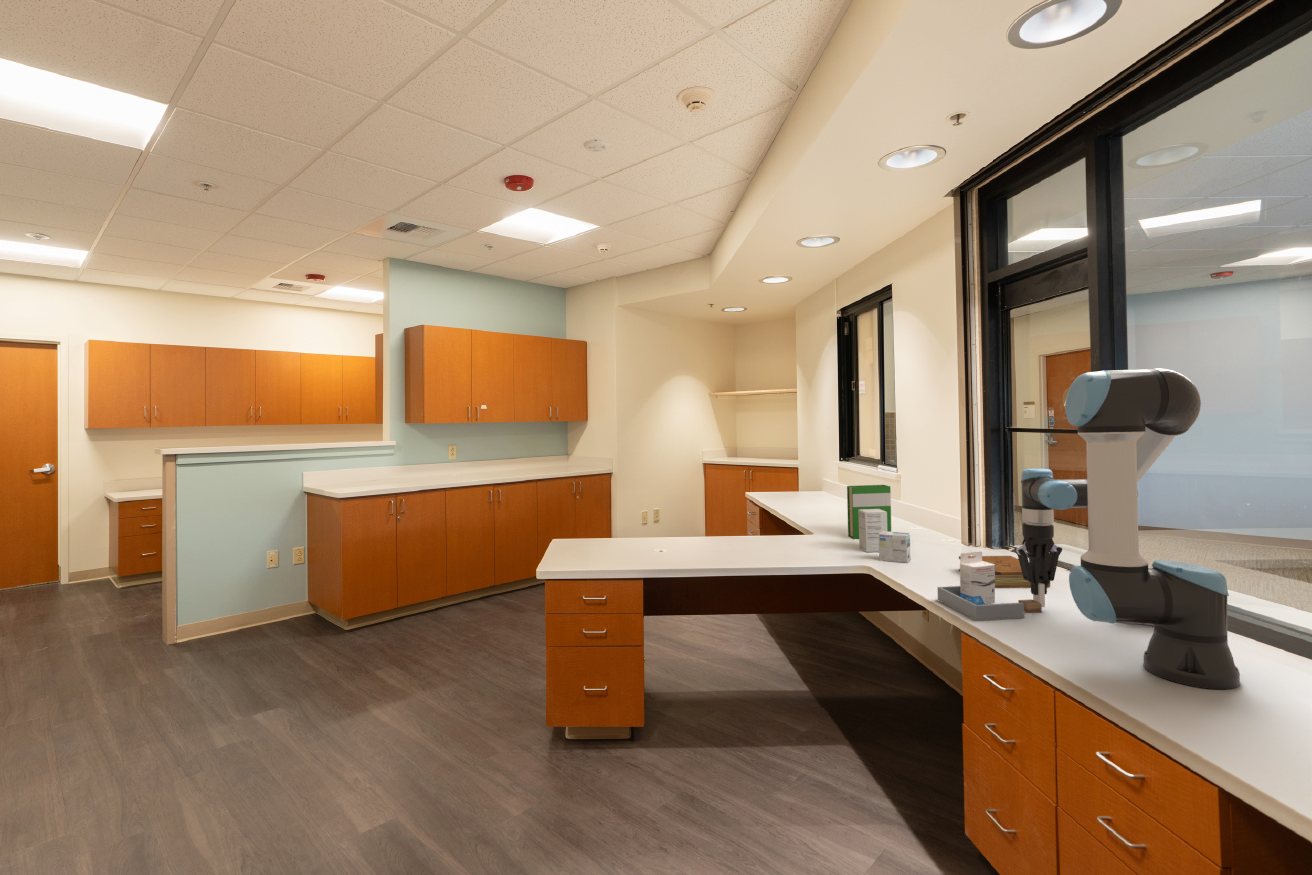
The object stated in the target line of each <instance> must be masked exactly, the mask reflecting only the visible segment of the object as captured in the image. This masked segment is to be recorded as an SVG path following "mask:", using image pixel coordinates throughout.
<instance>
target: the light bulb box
mask: <svg viewBox="0 0 1312 875" xmlns="http://www.w3.org/2000/svg"><path fill="white" fill-rule="evenodd" d="M878 555H879V556H878V557H879V558H878V560H879V561H881V560H882V561H883V562H885V561H886V562H894V563H904V564H905V563H906V564H908V563H909V561H911V559H912V558H911V534H910V532H903V531H902V532H900V531H891V532H887V531H882V532H880V533H879V552H878ZM882 561H881V562H882Z"/></svg>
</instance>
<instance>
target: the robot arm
mask: <svg viewBox="0 0 1312 875" xmlns="http://www.w3.org/2000/svg"><path fill="white" fill-rule="evenodd" d="M1201 405H1202V401H1201V395H1200V393H1199V390H1198V388H1197V387H1196V385H1195V384H1194V383H1193V382H1192V381H1191V380H1190V378H1188V377H1187V376H1185V375H1183V374H1182V373H1180V372H1177V371H1174V370H1171V369H1166V368H1149V369H1148V368H1147V369H1123V370H1122V369H1120V370H1119V369H1117V370H1111V369H1110V370H1099V371H1090V372H1089V371H1088V372H1085V373H1082V374H1080V375H1078V376H1077V377H1076V378H1075V379H1074V380H1073V382H1072V383H1071V385H1070V386H1069V388H1068V391H1067V395H1066V397H1065V406H1064V407H1065V408H1064V409H1065V410H1064V412H1065V416H1066V420H1067V422H1068V423H1069V424H1070V425H1071V426H1073V427H1077V435H1078V436H1080V437H1081V438H1082V439H1083V440H1084V441H1085V442H1086V477H1087V478H1082V479H1079V478H1076V479H1075V478H1073V479H1072V478H1071V479H1069V478H1068V479H1066V478H1065V479H1063V478H1061V479H1055V477H1054V474H1053V473H1054V472H1053V471H1052V470H1051V469H1049V468H1025V469H1023V470H1022V471H1021V481H1020V483H1021V512H1022V513H1021V516H1022V517H1021V519H1022V520H1021V521H1022V522H1023V523H1022V524H1021V525H1022V526H1021V527H1022V528H1021V529H1022V532H1021V533H1022V537H1023V540H1022V542H1021V543H1022V544H1021V545H1020V546H1019V547H1014V549H1013V550H1014V552H1015V554H1016V555H1017V559H1019V563H1020V567H1021V571H1022V575H1023V578H1024V580H1026V581H1029V582H1030V583H1031V588H1030V593H1031V595H1032V600H1034V601H1037V602H1039V603H1041V604H1042V608H1045V607H1046V595H1047V594H1048V588H1047V584H1050V585H1051V582H1054V581H1055V576H1056V573H1057V567H1058V562H1059V557H1060V555H1061V553H1062V552H1063V547H1060V546H1058V545H1056V544H1055V541H1054V540H1053V538H1054V537H1055V527H1054V522H1055V517H1054V513H1055V512H1054V511H1055V510H1058V511H1059V510H1061V511H1062V510H1067V509H1072V508H1075V509H1081V508H1082V509H1083V508H1084V509H1085V508H1087V524H1088V525H1087V529H1088V530H1087V531H1088V550H1087V551H1086V552H1085V553H1083V554H1082V555H1081V556H1080V565H1076V566H1073V567H1071V569H1070V570H1069V574H1068V583H1069V590H1070V592H1071V596H1072V599H1073V602H1074V603H1075V605H1076V607H1077V609H1078V610H1079V611H1080V613H1081V614H1082V615H1083V616H1084V617H1085V618H1087V619H1088V620H1090V621H1092V622H1097V623H1098V622H1100V623H1101V622H1102V623H1109V624H1113V625H1114V624H1137V625H1143V624H1154V626H1153V632H1152V635H1151V638H1150V639H1149V642H1148V645H1147V648H1146V651H1144V653H1143V667H1144V669H1146V670H1147V671H1148V672H1149V673H1151V674H1154V675H1155V676H1157V677H1159V678H1162V679H1165V680H1166V681H1167V680H1168V681H1170V682H1174V683H1178V684H1182V685H1185V686H1190V687H1194V688H1195V687H1196V688H1200V689H1201V688H1202V689H1203V688H1204V689H1211V690H1212V689H1213V690H1227V689H1228V690H1230V689H1235V688H1238V687H1239V686H1240V685H1241V681H1240V680H1241V674H1240V670H1239V668H1238V666H1236V665H1235V662H1234V661H1235V660H1234V657H1233V654H1232V652H1231V650H1230V647H1229V644H1228V597H1229V595H1230V594H1229V592H1228V584H1227V579H1226V577H1225V575H1224V574H1222V573H1221V572H1219V571H1218V570H1216V569H1212V568H1209V567H1206V566H1201V565H1197V564H1193V563H1187V562H1183V561H1176V560H1169V559H1168V560H1167V559H1155V560H1153V561H1152V563H1151V568H1150V567H1149V561H1148V560H1147V559H1145V558H1144V557H1143V556H1142V555H1141V554H1140V552H1139V551H1140V550H1139V549H1140V545H1139V542H1140V541H1139V507H1138V506H1139V504H1138V503H1139V500H1138V499H1139V498H1138V497H1139V490H1138V483H1139V481H1141V479H1142V478H1143V476H1144V475H1145V474H1147V473H1146V472H1148V470H1149V469H1150V468H1151V467H1152V465H1153V464H1154V463H1155V462H1156V461H1157V460H1158V459H1159V457H1160V456H1161V455H1162V453H1163V452H1164V451H1165V450H1166V448H1167V447H1168V446H1169V445H1170V443H1172V442H1173V441H1174V439H1175V438H1176V437H1178V436H1180V435H1184V434H1186V432H1187V431H1189V430H1190V429H1191V427H1192V426H1193V425H1194V423H1196V421H1197V419H1198V417H1199V415H1200V412H1201V407H1202V406H1201ZM1049 581H1050V582H1049Z"/></svg>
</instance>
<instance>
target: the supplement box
mask: <svg viewBox="0 0 1312 875" xmlns="http://www.w3.org/2000/svg"><path fill="white" fill-rule="evenodd" d="M858 514H859V539H858V540H859V541H858V542H859V544H858V545H859V546H858V548H859V549H860V550H862V551H864V552H865V553H879V533H880V532H882V531H887V512H886V511H883V510H880V509H860V510H858Z"/></svg>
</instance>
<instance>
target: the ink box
mask: <svg viewBox="0 0 1312 875" xmlns="http://www.w3.org/2000/svg"><path fill="white" fill-rule="evenodd" d="M968 556H975V558H968ZM982 556H983V551H982V550H980V551H969V552H961V553H960V559H959V560H960V563H959V569H960V571H959V581H960V583H959V586H960V597H962V598H964V599H966V600H968V601H970V602H972V603H974V604H976V605H987V604H996V588H995V564H991V563H988V562H984V561H982Z"/></svg>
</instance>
